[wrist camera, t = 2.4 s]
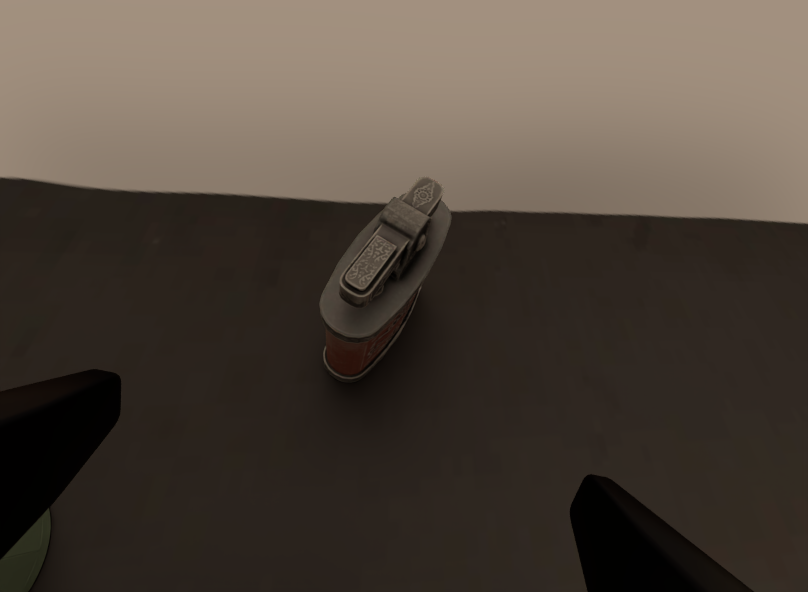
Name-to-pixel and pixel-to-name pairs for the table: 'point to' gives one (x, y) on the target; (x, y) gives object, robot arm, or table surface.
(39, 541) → the pen cup
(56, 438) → the robot arm
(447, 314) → the table surface
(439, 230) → the lighter
